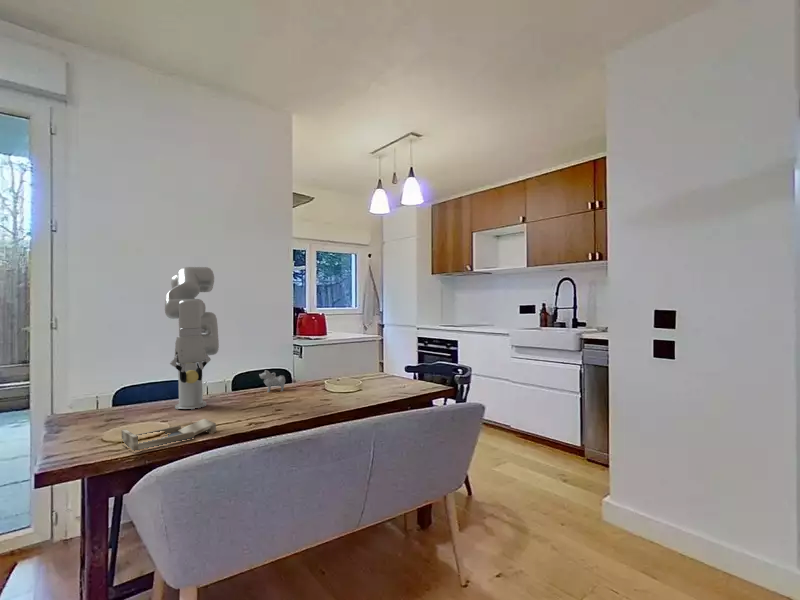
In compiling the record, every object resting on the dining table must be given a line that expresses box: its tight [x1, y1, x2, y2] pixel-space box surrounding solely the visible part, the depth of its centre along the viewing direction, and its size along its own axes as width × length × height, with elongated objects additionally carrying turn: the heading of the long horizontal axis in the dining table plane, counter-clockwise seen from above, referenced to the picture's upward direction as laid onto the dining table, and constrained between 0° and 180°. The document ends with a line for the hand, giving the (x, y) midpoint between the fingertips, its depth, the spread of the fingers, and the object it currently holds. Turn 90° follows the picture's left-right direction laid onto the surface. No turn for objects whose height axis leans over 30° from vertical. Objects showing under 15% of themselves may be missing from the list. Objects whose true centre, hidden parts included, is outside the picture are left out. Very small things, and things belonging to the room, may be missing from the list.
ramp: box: [177, 418, 217, 436], centre depth 166 cm, size 10×9×3 cm
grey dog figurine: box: [258, 370, 286, 393], centre depth 236 cm, size 5×13×11 cm, turn 100°
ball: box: [186, 370, 199, 383], centre depth 175 cm, size 5×5×5 cm
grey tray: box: [121, 425, 195, 451], centre depth 156 cm, size 12×19×5 cm, turn 137°
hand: (191, 380), depth 175 cm, fingers closed on ball, 4 cm apart
